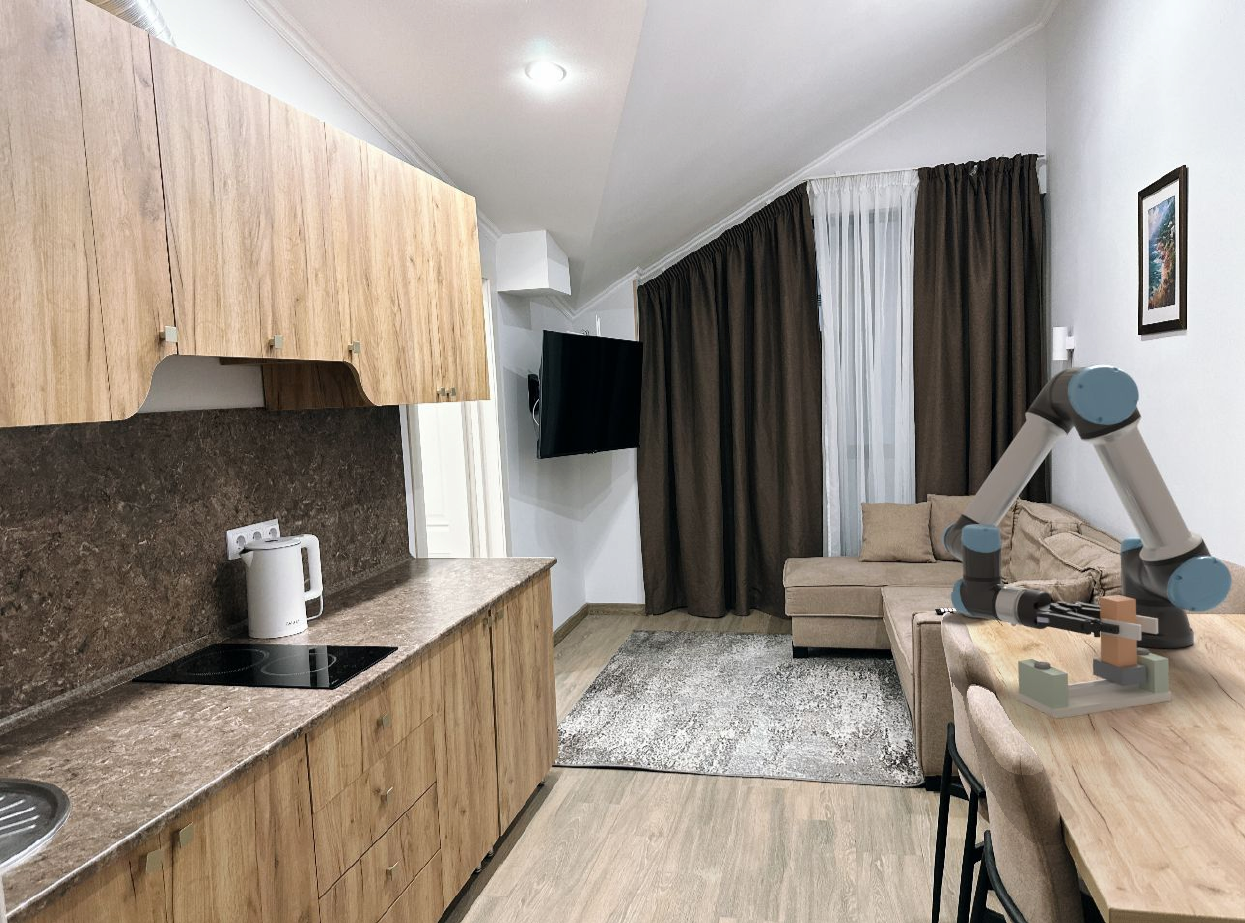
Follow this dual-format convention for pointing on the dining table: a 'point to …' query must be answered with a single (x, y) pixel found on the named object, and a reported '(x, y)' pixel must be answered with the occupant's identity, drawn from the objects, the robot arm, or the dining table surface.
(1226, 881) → the dining table surface
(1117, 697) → the rail bed
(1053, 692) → the end cabinets
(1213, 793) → the dining table surface
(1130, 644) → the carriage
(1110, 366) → the robot arm
